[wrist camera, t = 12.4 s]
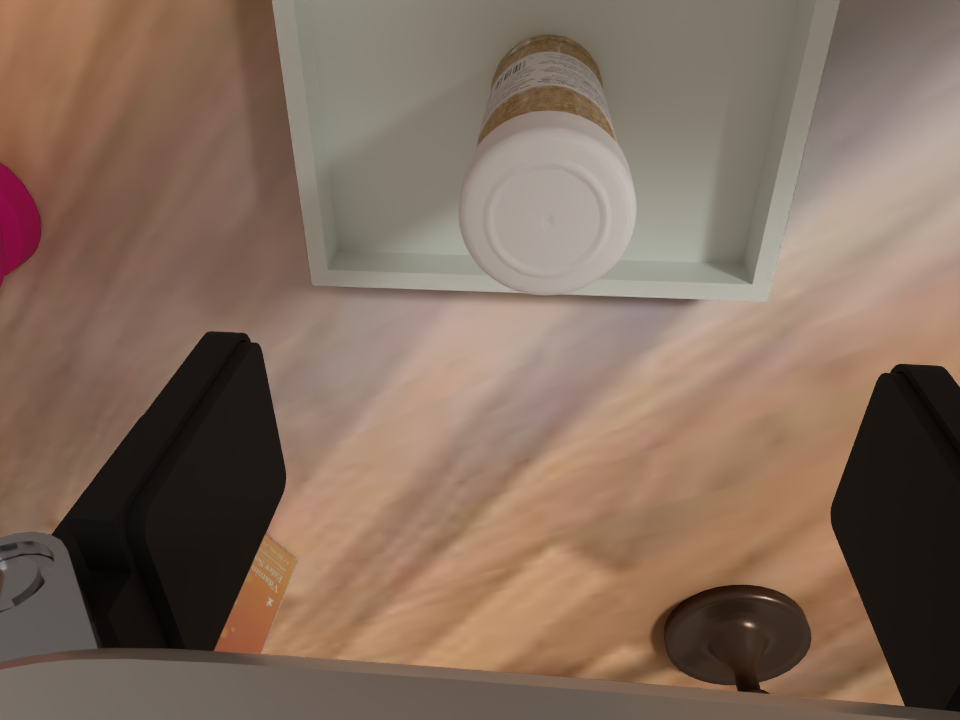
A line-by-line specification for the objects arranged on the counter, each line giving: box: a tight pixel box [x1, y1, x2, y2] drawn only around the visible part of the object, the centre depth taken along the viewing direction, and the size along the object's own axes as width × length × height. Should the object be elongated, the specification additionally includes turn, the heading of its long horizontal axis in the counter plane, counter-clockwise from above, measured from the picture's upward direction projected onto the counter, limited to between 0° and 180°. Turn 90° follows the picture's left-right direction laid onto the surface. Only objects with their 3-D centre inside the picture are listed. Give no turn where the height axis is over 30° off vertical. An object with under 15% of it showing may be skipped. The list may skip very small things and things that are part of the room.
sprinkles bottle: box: [459, 34, 637, 295], centre depth 24 cm, size 5×5×14 cm
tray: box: [272, 0, 840, 302], centre depth 29 cm, size 20×16×3 cm
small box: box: [214, 534, 297, 654], centre depth 43 cm, size 8×6×10 cm
